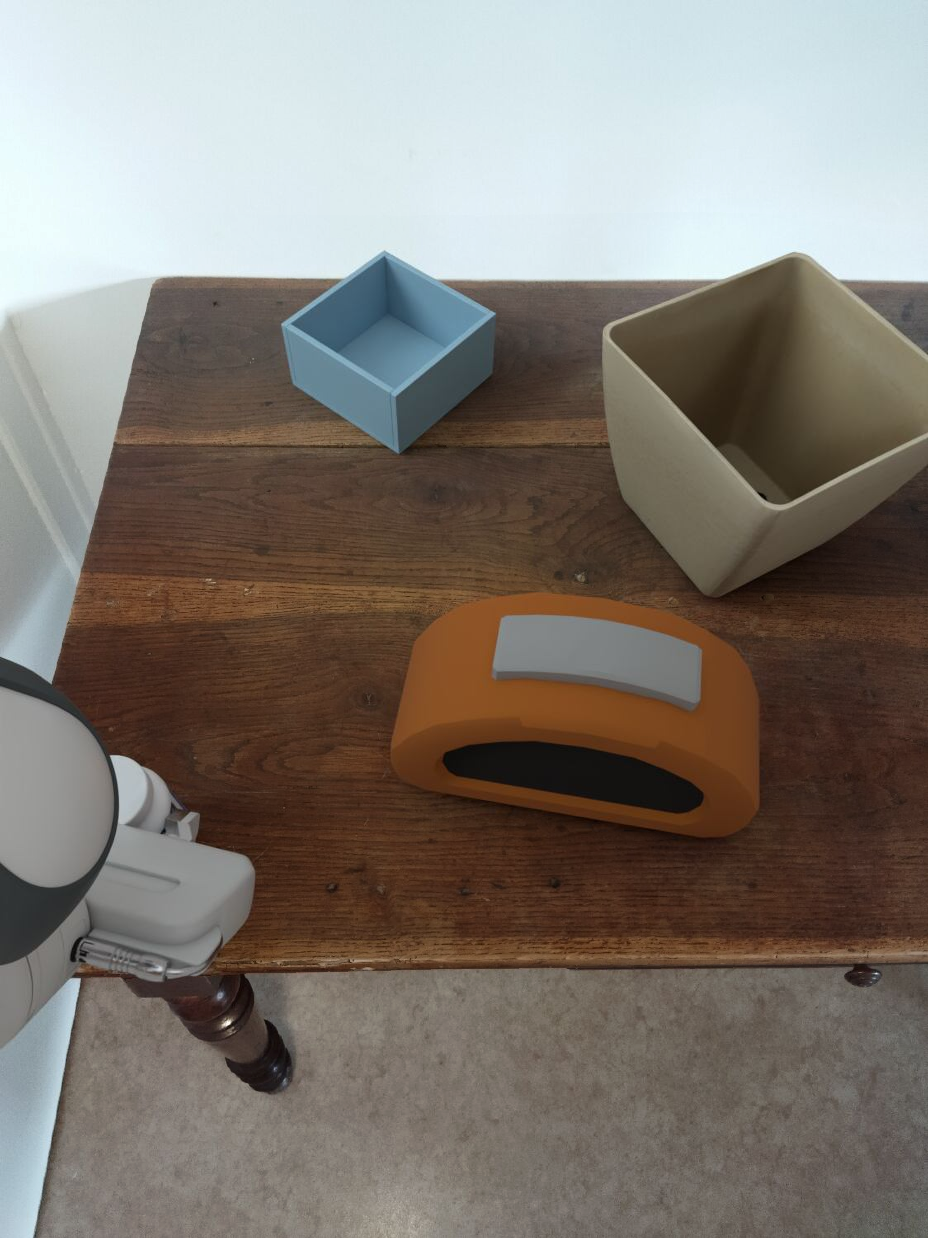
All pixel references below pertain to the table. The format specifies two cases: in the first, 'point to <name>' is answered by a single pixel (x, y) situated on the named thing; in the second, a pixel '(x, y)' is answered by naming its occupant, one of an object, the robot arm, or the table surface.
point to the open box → (390, 349)
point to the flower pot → (760, 417)
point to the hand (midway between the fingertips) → (134, 807)
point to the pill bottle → (143, 796)
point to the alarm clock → (582, 714)
